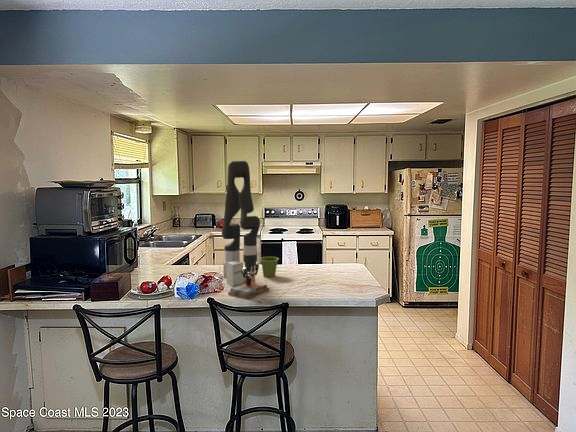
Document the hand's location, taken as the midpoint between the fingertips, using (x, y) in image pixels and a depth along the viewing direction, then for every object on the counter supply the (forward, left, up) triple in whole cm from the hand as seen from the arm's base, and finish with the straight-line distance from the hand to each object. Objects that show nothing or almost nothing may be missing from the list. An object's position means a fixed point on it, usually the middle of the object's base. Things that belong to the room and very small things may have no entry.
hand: (250, 284), depth 217 cm
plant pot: (-9, +32, -5) cm, 34 cm away
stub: (0, -1, -3) cm, 3 cm away
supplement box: (-17, +8, -5) cm, 19 cm away
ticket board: (0, -2, -4) cm, 5 cm away
